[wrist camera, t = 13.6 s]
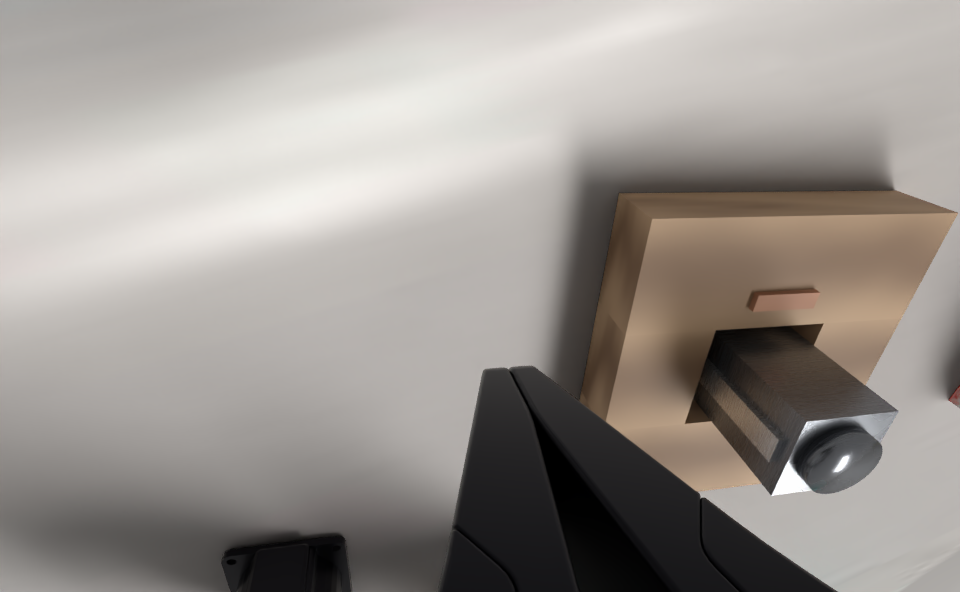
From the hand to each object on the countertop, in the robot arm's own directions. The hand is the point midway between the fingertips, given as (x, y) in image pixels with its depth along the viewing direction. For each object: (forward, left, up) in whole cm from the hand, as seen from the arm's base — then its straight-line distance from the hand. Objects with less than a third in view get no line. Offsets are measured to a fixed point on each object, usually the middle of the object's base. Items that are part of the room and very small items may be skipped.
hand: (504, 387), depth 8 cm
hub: (-9, -15, -13) cm, 22 cm away
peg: (-9, -15, -13) cm, 22 cm away
